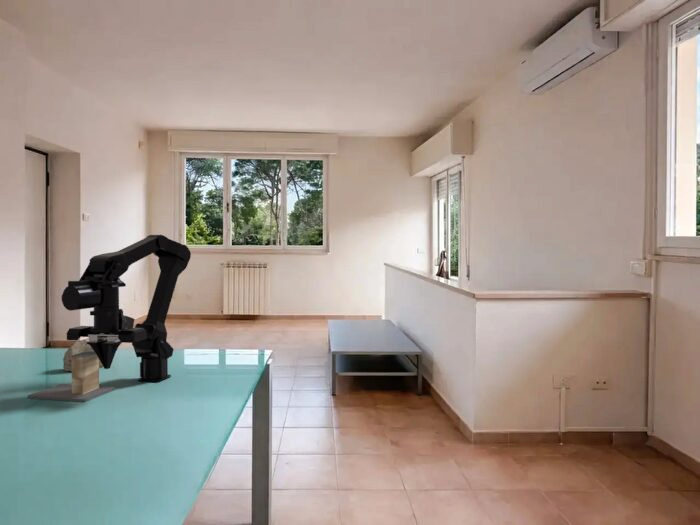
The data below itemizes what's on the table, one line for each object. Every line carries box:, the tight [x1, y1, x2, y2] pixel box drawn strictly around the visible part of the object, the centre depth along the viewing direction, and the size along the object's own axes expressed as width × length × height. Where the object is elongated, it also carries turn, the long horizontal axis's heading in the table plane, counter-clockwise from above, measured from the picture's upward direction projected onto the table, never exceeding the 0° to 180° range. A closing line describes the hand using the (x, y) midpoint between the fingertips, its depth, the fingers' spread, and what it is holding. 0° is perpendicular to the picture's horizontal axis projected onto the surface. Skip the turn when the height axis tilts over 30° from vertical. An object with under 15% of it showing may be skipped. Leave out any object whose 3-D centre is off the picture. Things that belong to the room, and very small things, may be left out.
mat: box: [27, 383, 116, 403], centre depth 129 cm, size 16×11×1 cm
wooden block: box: [71, 351, 100, 394], centre depth 129 cm, size 3×6×9 cm, turn 168°
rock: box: [62, 339, 104, 372], centre depth 154 cm, size 12×7×10 cm, turn 114°
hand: (107, 368), depth 128 cm, fingers closed
